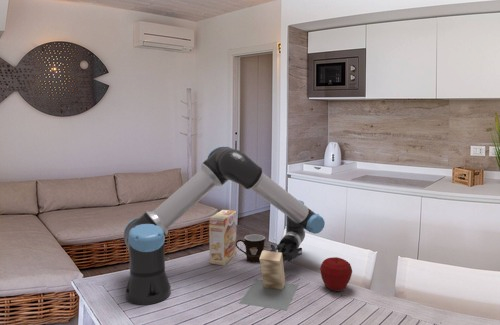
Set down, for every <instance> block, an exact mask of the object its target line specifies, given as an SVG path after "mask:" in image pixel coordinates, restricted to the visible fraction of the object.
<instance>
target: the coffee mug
mask: <svg viewBox="0 0 500 325" xmlns="http://www.w3.org/2000/svg"><path fill="white" fill-rule="evenodd" d="M243 238H244V240H243V239H238V240H236V249H238V250H239V251H240V252H242V253H244V255H245V256H246V261H247V262H249V263H255V264H256V263H259V264H260V260H259V258H260V256H261V253H262V251H265V250H264V248H265V241H266V236H264V235H262V234H248V235H245V236H244V237H243ZM239 242H242V243H243V245H244V246H245V251H244V250H243V249H241V248H240V247H239V245H238V243H239Z"/></svg>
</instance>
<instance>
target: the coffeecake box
mask: <svg viewBox="0 0 500 325" xmlns="http://www.w3.org/2000/svg"><path fill="white" fill-rule="evenodd" d="M237 213H238V212H237V210H230V209H222V210H220V211H218V212H217V213H214V214H213V215H212V216H210V217H208V220H209V221H208V222H209V227H208V228H209V238H208V239H209V264H213V265H219V266H226V264H228V263H229V261H230V260H232V258H233V257H234V256H236V254H237V247H236V242H237Z"/></svg>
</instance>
